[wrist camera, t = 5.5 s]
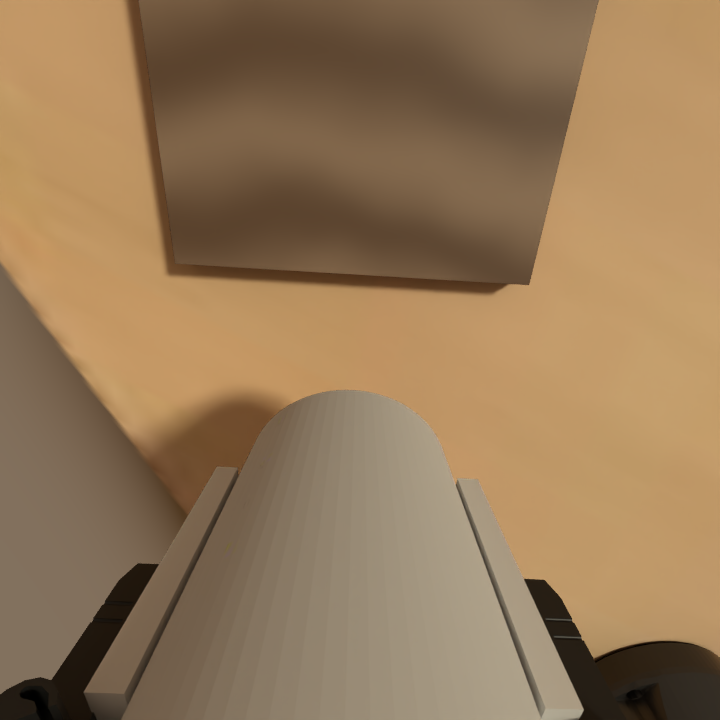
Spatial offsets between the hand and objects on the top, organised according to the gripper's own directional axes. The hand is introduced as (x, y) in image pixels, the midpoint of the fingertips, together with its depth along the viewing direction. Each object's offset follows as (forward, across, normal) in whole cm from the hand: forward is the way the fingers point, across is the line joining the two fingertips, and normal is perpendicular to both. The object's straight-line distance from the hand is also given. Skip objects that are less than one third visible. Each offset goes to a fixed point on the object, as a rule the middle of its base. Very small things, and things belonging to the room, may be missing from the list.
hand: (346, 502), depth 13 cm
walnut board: (+9, 0, -16) cm, 18 cm away
